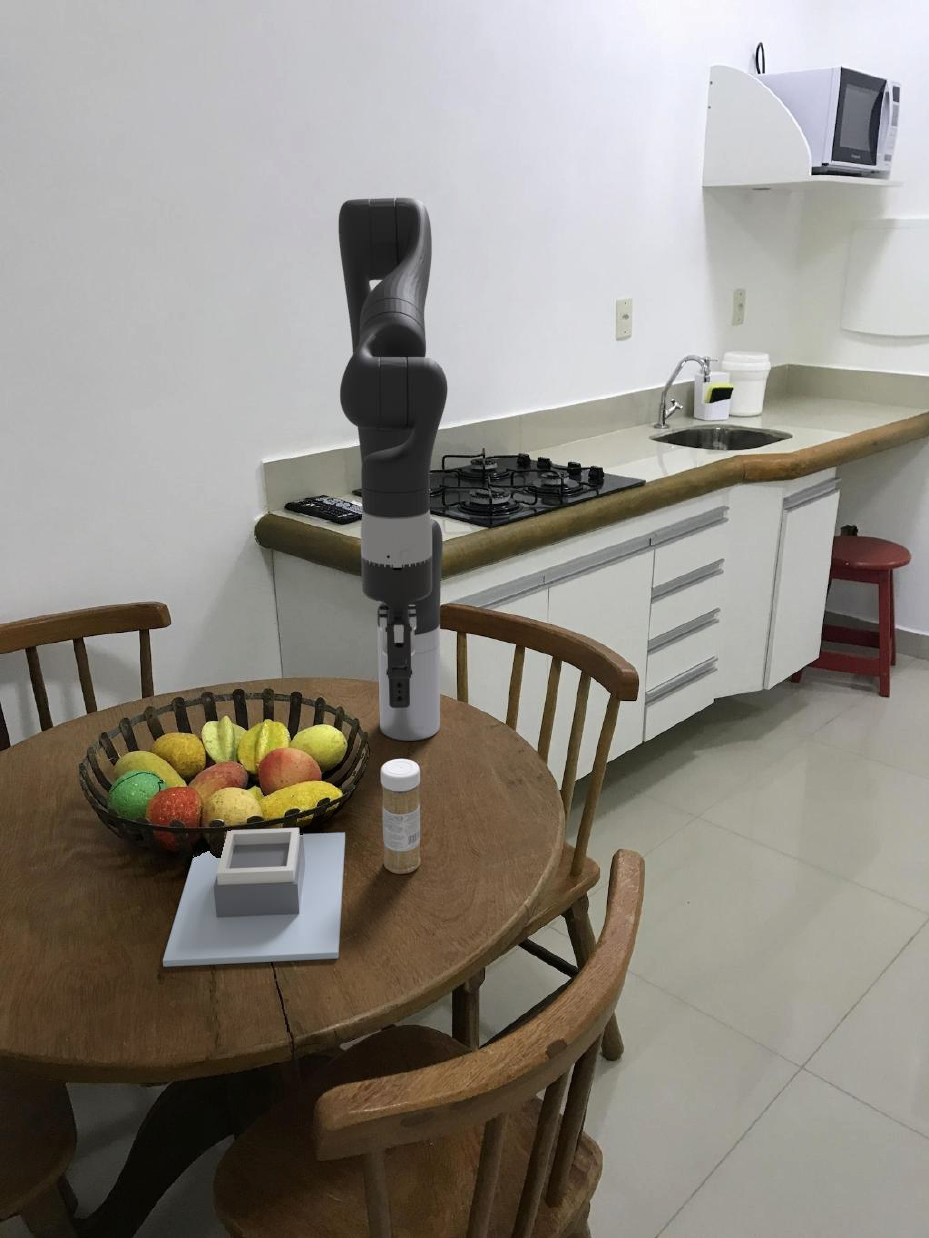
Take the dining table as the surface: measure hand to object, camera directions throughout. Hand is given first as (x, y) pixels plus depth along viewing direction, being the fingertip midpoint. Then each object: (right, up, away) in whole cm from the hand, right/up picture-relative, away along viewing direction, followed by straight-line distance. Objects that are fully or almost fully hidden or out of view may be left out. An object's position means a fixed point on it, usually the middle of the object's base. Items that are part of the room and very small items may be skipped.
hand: (398, 689), depth 109 cm
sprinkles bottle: (0, -22, +9) cm, 24 cm away
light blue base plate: (-16, -24, +3) cm, 29 cm away
